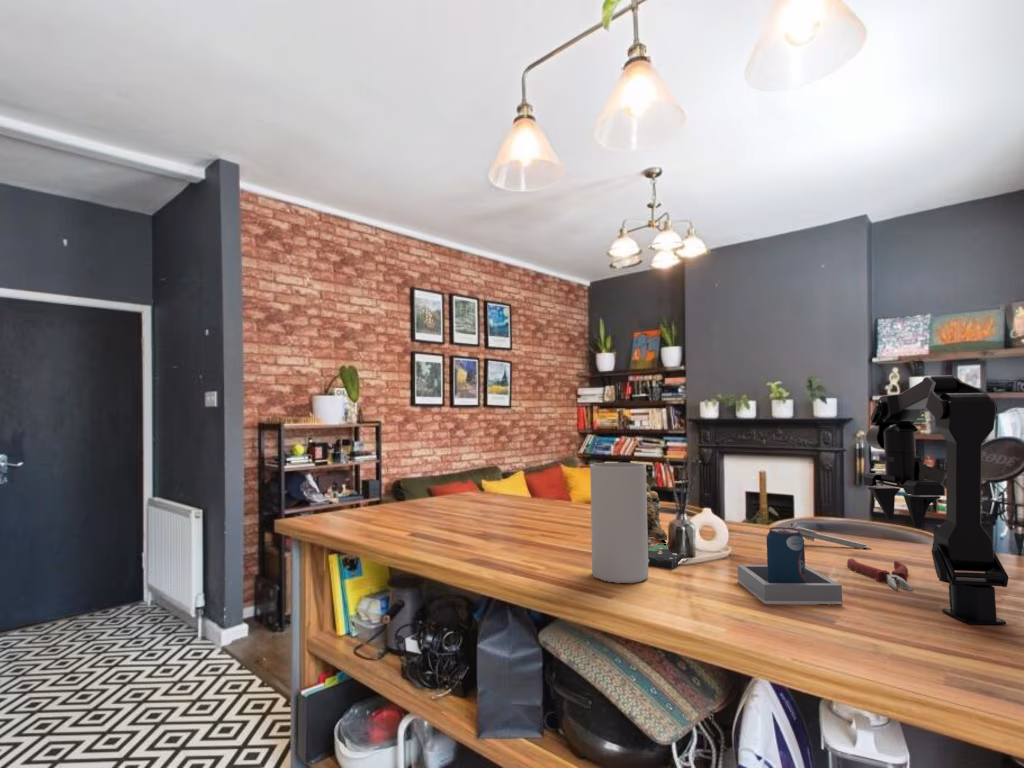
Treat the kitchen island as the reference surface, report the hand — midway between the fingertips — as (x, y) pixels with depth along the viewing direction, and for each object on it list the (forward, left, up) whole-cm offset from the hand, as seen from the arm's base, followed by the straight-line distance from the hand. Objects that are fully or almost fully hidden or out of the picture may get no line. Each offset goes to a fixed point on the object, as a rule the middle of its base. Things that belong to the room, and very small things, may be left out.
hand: (903, 523), depth 122 cm
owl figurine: (+36, +49, -12) cm, 62 cm away
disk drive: (+16, +49, -13) cm, 53 cm away
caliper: (+31, +1, -12) cm, 34 cm away
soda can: (-10, +30, -12) cm, 34 cm away
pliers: (+2, +5, -13) cm, 14 cm away
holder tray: (-10, +30, -12) cm, 34 cm away
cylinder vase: (+1, +62, -12) cm, 63 cm away
